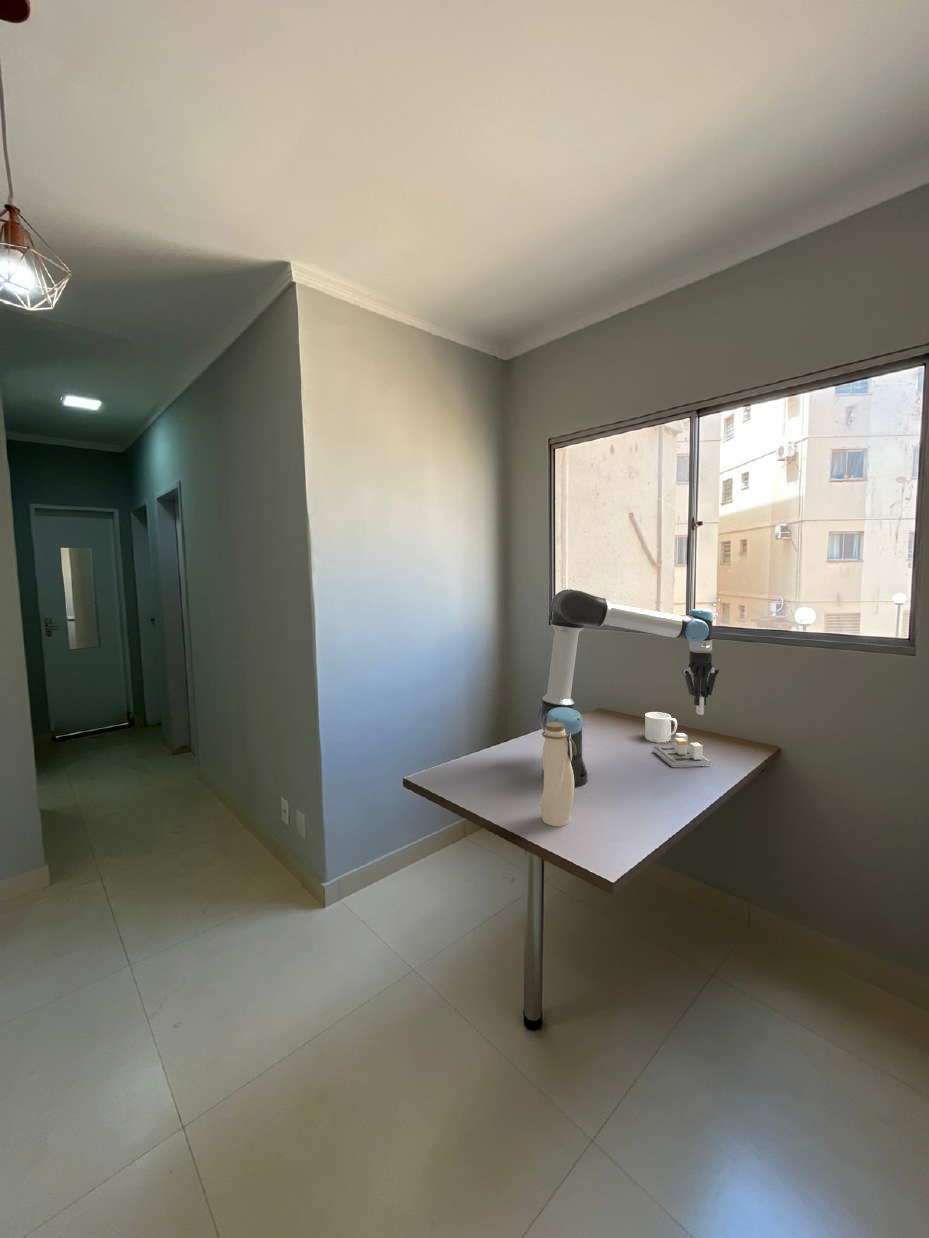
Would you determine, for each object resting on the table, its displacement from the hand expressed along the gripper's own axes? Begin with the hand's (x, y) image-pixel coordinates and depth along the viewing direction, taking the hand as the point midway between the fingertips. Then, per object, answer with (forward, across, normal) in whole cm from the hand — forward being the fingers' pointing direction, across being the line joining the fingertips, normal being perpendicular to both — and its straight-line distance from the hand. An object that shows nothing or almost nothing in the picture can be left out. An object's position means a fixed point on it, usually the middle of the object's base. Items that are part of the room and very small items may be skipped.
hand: (700, 713), depth 185 cm
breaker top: (+15, -4, +6) cm, 16 cm away
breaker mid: (+15, -7, 0) cm, 16 cm away
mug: (+17, -5, +21) cm, 28 cm away
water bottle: (+17, -63, -41) cm, 77 cm away
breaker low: (+15, -4, -6) cm, 16 cm away
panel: (+17, -7, 0) cm, 18 cm away
